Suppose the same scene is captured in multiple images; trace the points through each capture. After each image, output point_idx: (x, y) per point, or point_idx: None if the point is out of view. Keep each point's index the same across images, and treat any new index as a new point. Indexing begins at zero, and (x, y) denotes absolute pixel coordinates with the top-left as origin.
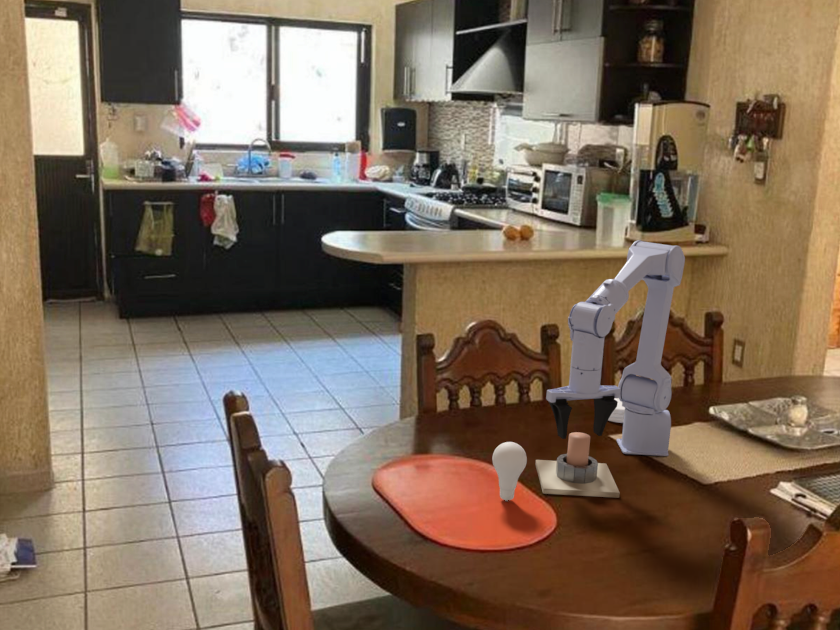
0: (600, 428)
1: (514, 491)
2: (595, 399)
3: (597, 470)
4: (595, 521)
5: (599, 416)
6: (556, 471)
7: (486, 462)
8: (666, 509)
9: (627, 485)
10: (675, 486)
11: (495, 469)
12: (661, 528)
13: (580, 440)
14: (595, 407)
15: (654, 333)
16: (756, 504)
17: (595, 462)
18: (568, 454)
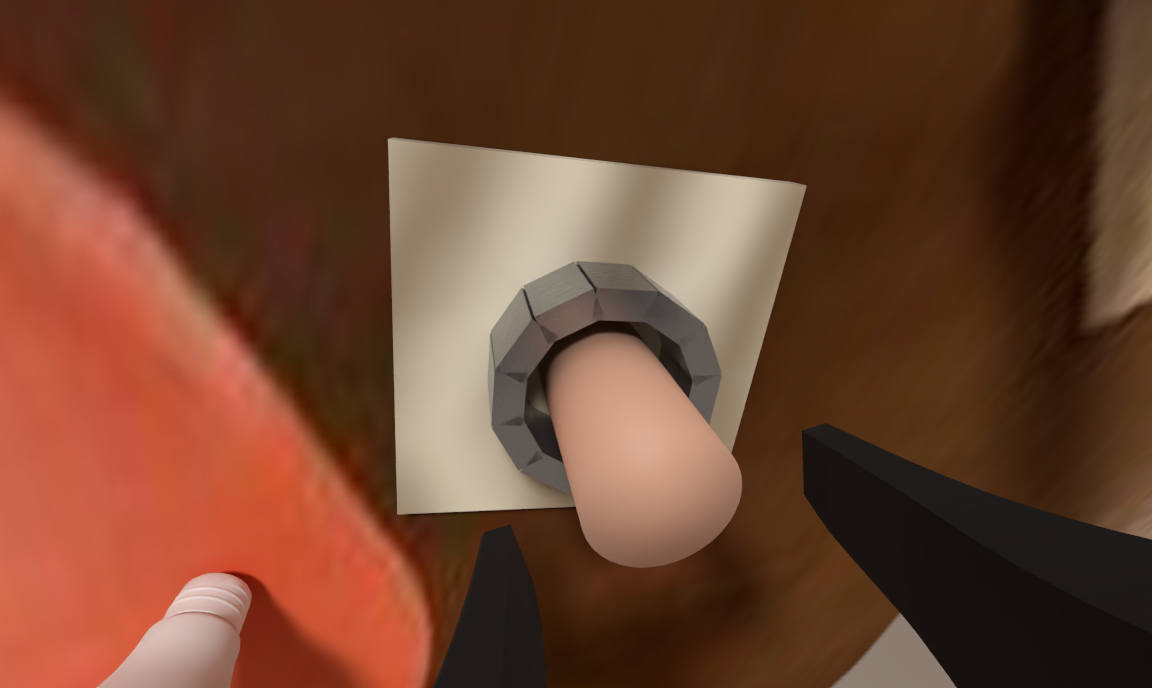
0: (848, 547)
1: (242, 626)
2: (1135, 674)
3: (720, 286)
4: (560, 648)
5: (930, 593)
6: (489, 357)
7: (12, 106)
8: (823, 538)
9: (794, 373)
10: (970, 362)
11: None
12: (742, 643)
13: (642, 561)
14: (1007, 587)
15: None
16: (1107, 464)
17: (703, 410)
18: (557, 440)
